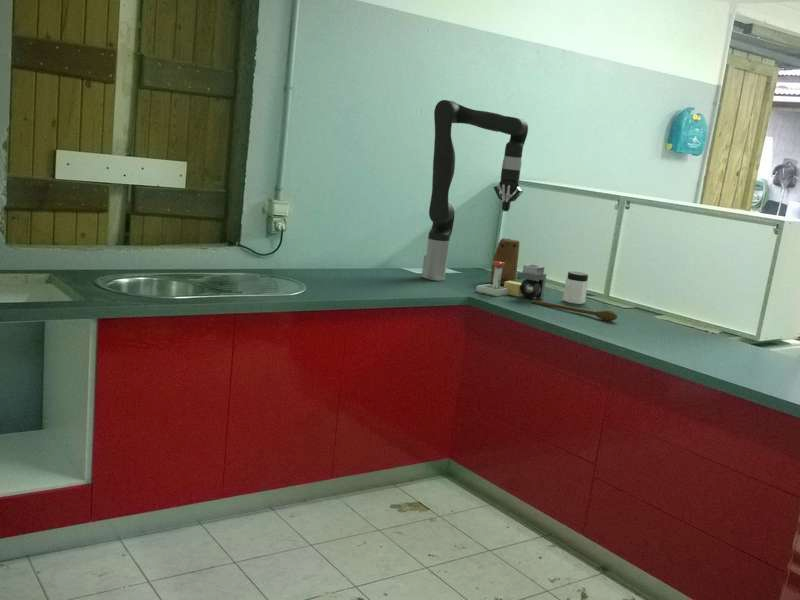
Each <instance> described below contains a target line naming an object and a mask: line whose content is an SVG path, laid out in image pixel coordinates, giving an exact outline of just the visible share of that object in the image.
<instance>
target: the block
mask: <svg viewBox="0 0 800 600" xmlns="http://www.w3.org/2000/svg"><path fill="white" fill-rule="evenodd" d="M520 245H521V244H520V240H515V239H511V238H501V239H500V240H499V242H498V244H497V248H496V251H495V253H494V254H493V260H492V265H491V272H490V282H491V283H492V284H493V277H494V270H495V265H494V261H500V262H504V263H505V264H504V266H502V273H501V280H500V285H503V286H504V282H505V281H514V282H516V278H517V273H518V264H519V263H518V262H519V252H520Z"/></svg>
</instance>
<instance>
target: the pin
mask: <svg viewBox="0 0 800 600" xmlns="http://www.w3.org/2000/svg"><path fill="white" fill-rule="evenodd" d="M504 264H505V263H504V262H500V261H494V265H495V270H494V277H493V283H492V289H495V290H498V289H499V287H501V284H500V280H501V273H502V266H504Z"/></svg>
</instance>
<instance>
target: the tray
mask: <svg viewBox="0 0 800 600" xmlns="http://www.w3.org/2000/svg"><path fill="white" fill-rule="evenodd" d="M492 284H493V283H492ZM492 284H491V283H487V284H479V285H476V290H475V292H477V293H481V294H485V295H488V296H492V297H501V296H507V295H509V294H508V293H509V288H504V286H500V287H499V289H498V290H495V289H492Z"/></svg>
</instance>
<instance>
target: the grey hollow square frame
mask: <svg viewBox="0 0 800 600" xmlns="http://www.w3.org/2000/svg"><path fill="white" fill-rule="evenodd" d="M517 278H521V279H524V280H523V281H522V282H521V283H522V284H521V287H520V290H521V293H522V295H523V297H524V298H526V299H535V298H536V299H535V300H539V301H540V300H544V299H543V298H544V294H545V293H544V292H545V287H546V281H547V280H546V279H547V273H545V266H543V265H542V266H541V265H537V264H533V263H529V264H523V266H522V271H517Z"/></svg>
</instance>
